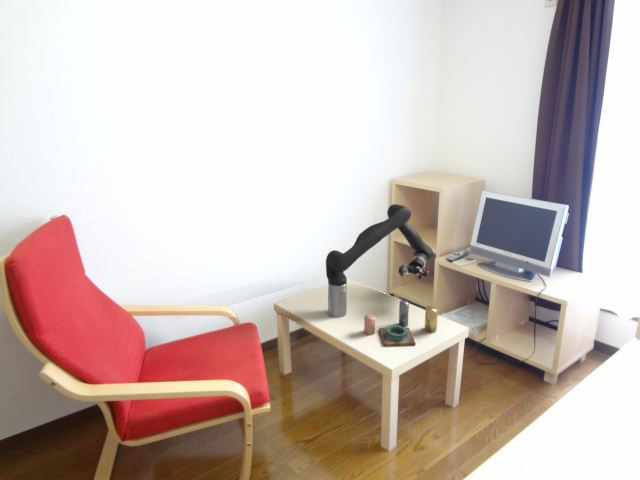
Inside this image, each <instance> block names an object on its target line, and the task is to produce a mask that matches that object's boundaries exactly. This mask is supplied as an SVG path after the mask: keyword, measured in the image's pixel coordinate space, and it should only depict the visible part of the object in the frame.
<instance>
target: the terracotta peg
mask: <svg viewBox="0 0 640 480" xmlns="http://www.w3.org/2000/svg"><path fill="white" fill-rule="evenodd" d="M363 318H364V322H363V323H364V324H363V325H364V327H363V333H364V334H365V335H367V336H372V335H375V334H376V316H375V315H373V314H366V315H364V317H363Z"/></svg>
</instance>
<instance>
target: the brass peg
mask: <svg viewBox="0 0 640 480" xmlns="http://www.w3.org/2000/svg"><path fill="white" fill-rule="evenodd" d="M438 313H439V308H438V307H436V306H434V305H430V306H428V305H427V306H426V307H425V314H424V327H423V328H424V329H423V330H424V331H425V332H426V333H431V334H433V333H436V332H437V328H438V327H437V326H438V315H439V314H438Z"/></svg>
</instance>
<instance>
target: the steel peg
mask: <svg viewBox="0 0 640 480" xmlns="http://www.w3.org/2000/svg"><path fill="white" fill-rule="evenodd" d="M409 306H410V302H409V301H408V300H405V299H403V300H402V299H401V300H400V301H399V308H398V309H399V310H398V326H401V327H409V326H408V325H409V312H410V310H409V309H410V307H409Z"/></svg>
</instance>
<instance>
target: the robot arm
mask: <svg viewBox="0 0 640 480" xmlns="http://www.w3.org/2000/svg"><path fill="white" fill-rule="evenodd" d="M386 214H387V217H388V218H387V219H386V220H383V221H380V222H377V223H375V224H372V225H370V226H368V227H366V229H364V230H363V231H362V232H360V233H359V235H358V236H357V238H356V239H355V242H354V244H353V245H352V246H351V247H350V248H349V249H348V250H346V251H345V252H344V253H342V252H341V251H339V250H331V251H329V253H327V255H326V259H325V270H326V271H325V274H326V279H327V283H328V288H327V289H328V291H327V292H328V293H327V301H328V302H327V304H328V305H327V306H328V307H327V309H328V310H327V311H328V316H329V317H334V318H343V317H345V316H346V315H347V310H348V309H347V306H348V305H347V303H348V302H347V301H348V300H347V296H348V295H347V289H348V288H347V285H348V283H347V282H348V281H347V280H348V278H347V276H346V275H345V272H346V271H347V270H348V269H349V268H350V267H351V266H352V265H353V264H355V262H356V261H358V259H360V258H361V257H362V256H363V255H365V254H366V253H367V252H368V251H369V250H370V249H372V248H373V247H375V246H376V245H377V244H379V242H381V241H382V240H383V239H385V238H386V237H387V236H389V235H391V233H392V232H394V231H395V230H397V229H398V230H399V231H400V232H401V234H402V235H403V236H404V238H405V240H406V241H407V242H408V243H407V244H409V246H410V247H411V249H412V250H413V257H412V258H411V260H410V262H409V263H408V265H407V266H405V265H404V264H401V265H400V266H399V267H398V274H400V277H401V278H403V277H404V275H410V274H411V275H412V274H413V275H418V276H417V277H418V278H417V279H418V280H421V279H422V278H423V277H424V278H426V277H428V274H429V268H428V267H426V264H427V262H428V260H429V261H430V260H431V259H433V257H434V251H433V249H432V248H431V247H430V246H429V245H428V244H427V243H426V242H424V240H423V239H422V237H421V235H420V234H419V233H418V231H417V230H415V228H413V227H412V225H410V224H409V222H408V221H410V219H411V216H412V210H411V209H410V208H409V207H408V206H406V205H402V204H396V203H395V204H394V203H393V204H391V205H390V206H389V207H388V209H387V213H386ZM425 267H426V268H425Z"/></svg>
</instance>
